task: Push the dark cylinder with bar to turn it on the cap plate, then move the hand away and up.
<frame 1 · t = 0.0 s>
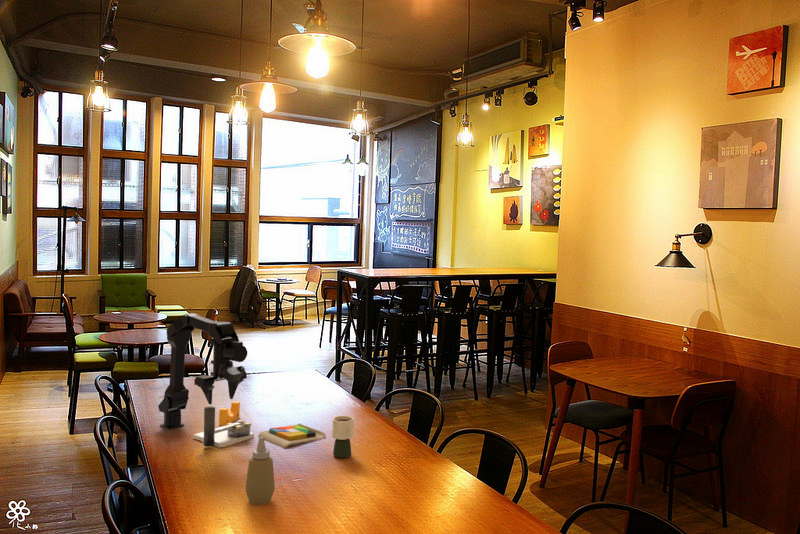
hand: (220, 401, 220), 15 cm above the table, tool pointing down, fingers open, 9 cm apart
squeeze bottle: (259, 502, 173), on the table
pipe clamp: (227, 421, 246), on the table
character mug: (342, 456, 211), on the table
wooden puzzle: (291, 439, 229), on the table
dark cylinder with bar: (227, 421, 221), point 8 cm above the table, hinge at 0.0°
cap plate: (223, 437, 225), on the table
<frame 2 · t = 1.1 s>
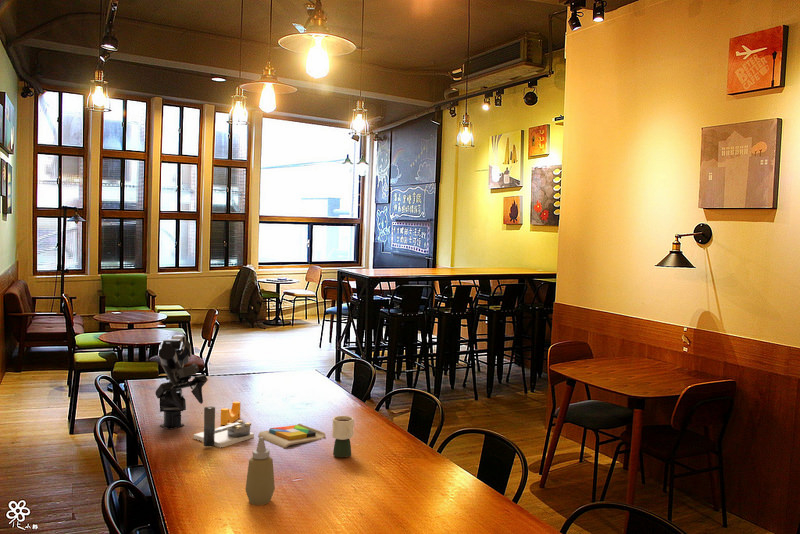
hand: (192, 405, 222), 12 cm above the table, tool tilted 45°, fingers open, 8 cm apart
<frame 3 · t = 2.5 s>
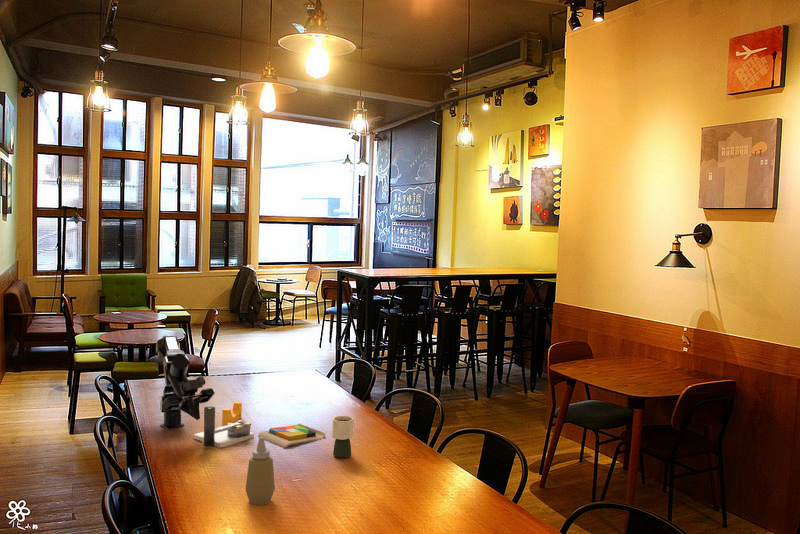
hand: (198, 419, 219), 8 cm above the table, tool tilted 45°, fingers closed
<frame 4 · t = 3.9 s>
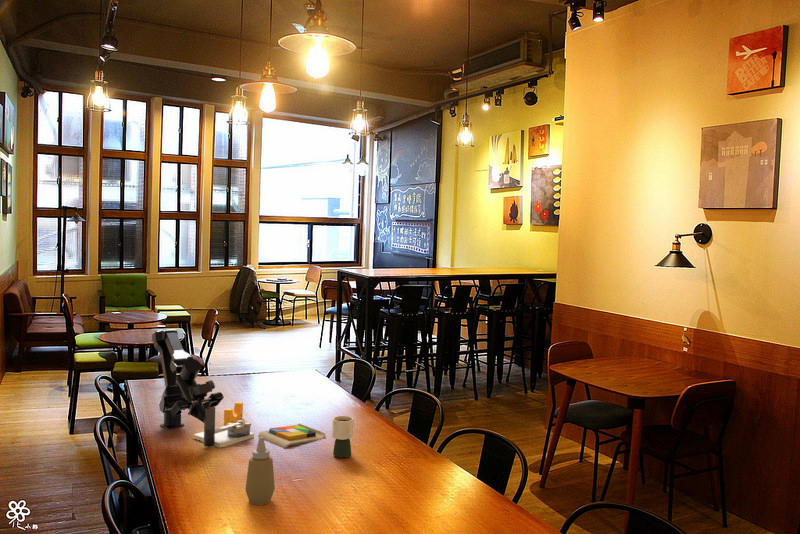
hand: (208, 423, 216), 8 cm above the table, tool tilted 45°, fingers closed
dark cylinder with bar: (227, 421, 221), point 7 cm above the table, hinge at 0.5°, touching gripper
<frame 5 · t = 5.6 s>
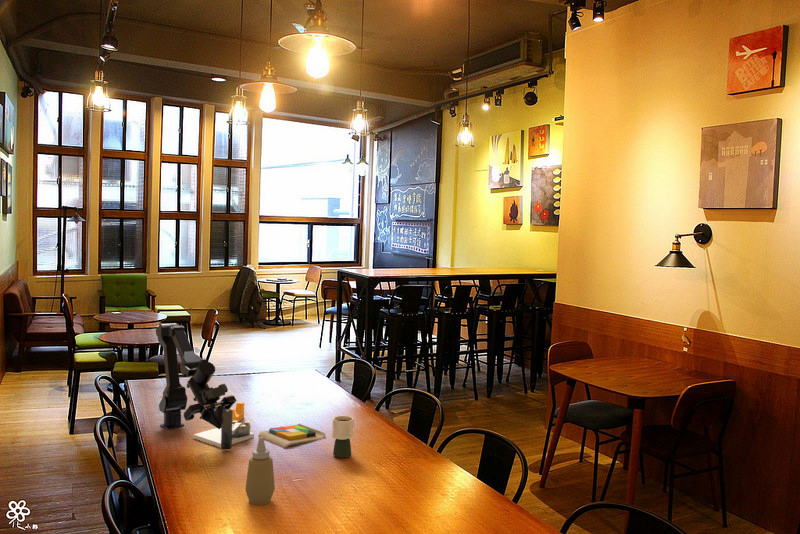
hand: (221, 428, 213), 8 cm above the table, tool tilted 45°, fingers closed
dark cylinder with bar: (234, 422, 220), point 8 cm above the table, hinge at 31.6°, touching gripper
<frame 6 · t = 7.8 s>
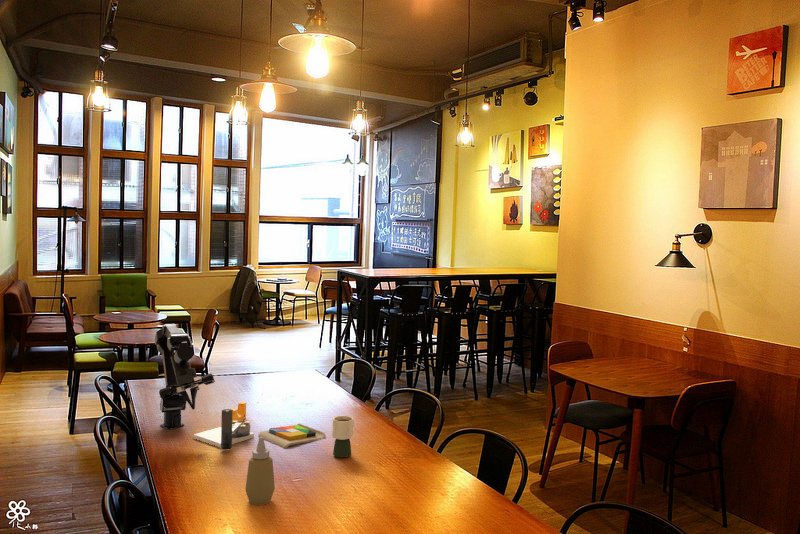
hand: (193, 409, 220), 12 cm above the table, tool tilted 30°, fingers closed
dark cylinder with bar: (234, 422, 220), point 8 cm above the table, hinge at 31.7°
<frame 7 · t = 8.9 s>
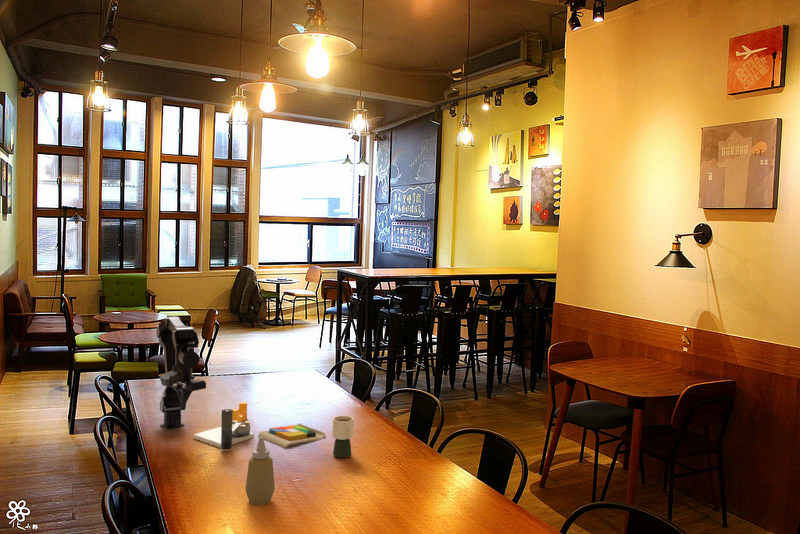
hand: (183, 405, 223), 12 cm above the table, tool pointing down, fingers closed
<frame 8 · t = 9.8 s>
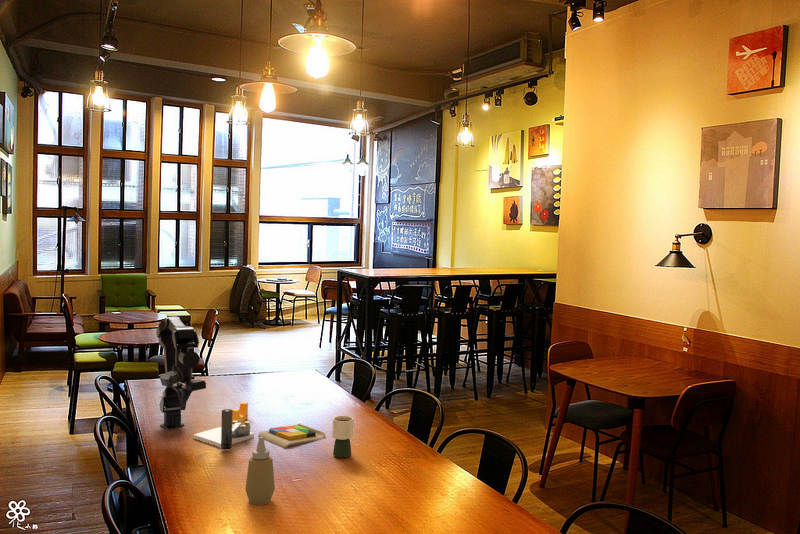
hand: (183, 405, 223), 12 cm above the table, tool pointing down, fingers closed
at the end: dark cylinder with bar at +32° (first picture: +0°) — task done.
